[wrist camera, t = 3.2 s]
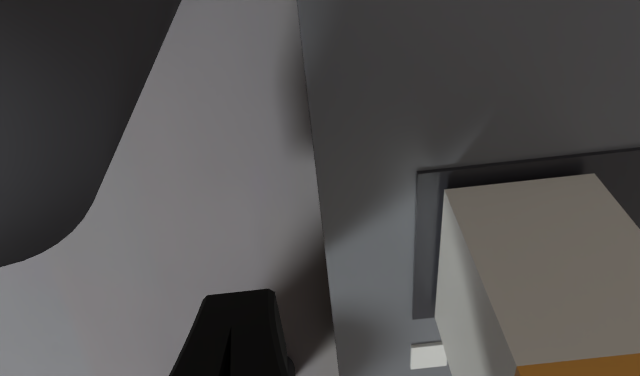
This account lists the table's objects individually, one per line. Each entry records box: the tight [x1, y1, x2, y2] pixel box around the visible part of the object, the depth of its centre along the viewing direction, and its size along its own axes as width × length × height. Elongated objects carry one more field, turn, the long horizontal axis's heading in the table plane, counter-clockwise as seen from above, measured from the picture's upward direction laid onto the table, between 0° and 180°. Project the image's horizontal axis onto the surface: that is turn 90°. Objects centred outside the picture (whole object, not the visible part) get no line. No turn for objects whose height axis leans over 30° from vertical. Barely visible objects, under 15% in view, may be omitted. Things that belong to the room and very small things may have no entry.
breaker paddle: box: [435, 173, 640, 376], centre depth 10 cm, size 3×4×4 cm
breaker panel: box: [297, 0, 640, 376], centre depth 13 cm, size 14×12×2 cm
